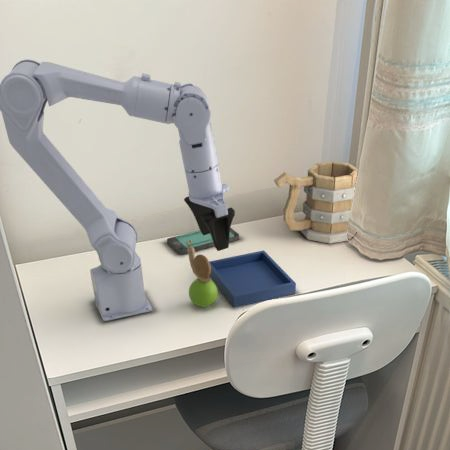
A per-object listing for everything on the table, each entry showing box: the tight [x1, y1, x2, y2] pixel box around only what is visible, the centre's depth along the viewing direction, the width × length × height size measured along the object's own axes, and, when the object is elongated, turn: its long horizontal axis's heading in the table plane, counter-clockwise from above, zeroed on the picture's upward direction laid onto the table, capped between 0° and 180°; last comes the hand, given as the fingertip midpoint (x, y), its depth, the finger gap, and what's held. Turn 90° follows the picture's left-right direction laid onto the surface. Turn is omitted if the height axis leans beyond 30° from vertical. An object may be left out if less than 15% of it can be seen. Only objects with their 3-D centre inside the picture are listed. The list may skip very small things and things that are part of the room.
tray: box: [208, 250, 297, 308], centre depth 127 cm, size 15×13×2 cm
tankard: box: [274, 160, 359, 245], centre depth 139 cm, size 20×13×15 cm, turn 108°
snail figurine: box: [186, 240, 219, 308], centre depth 118 cm, size 5×6×12 cm
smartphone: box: [166, 227, 240, 256], centre depth 142 cm, size 7×1×15 cm
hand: (215, 240), depth 114 cm, fingers open, 7 cm apart
